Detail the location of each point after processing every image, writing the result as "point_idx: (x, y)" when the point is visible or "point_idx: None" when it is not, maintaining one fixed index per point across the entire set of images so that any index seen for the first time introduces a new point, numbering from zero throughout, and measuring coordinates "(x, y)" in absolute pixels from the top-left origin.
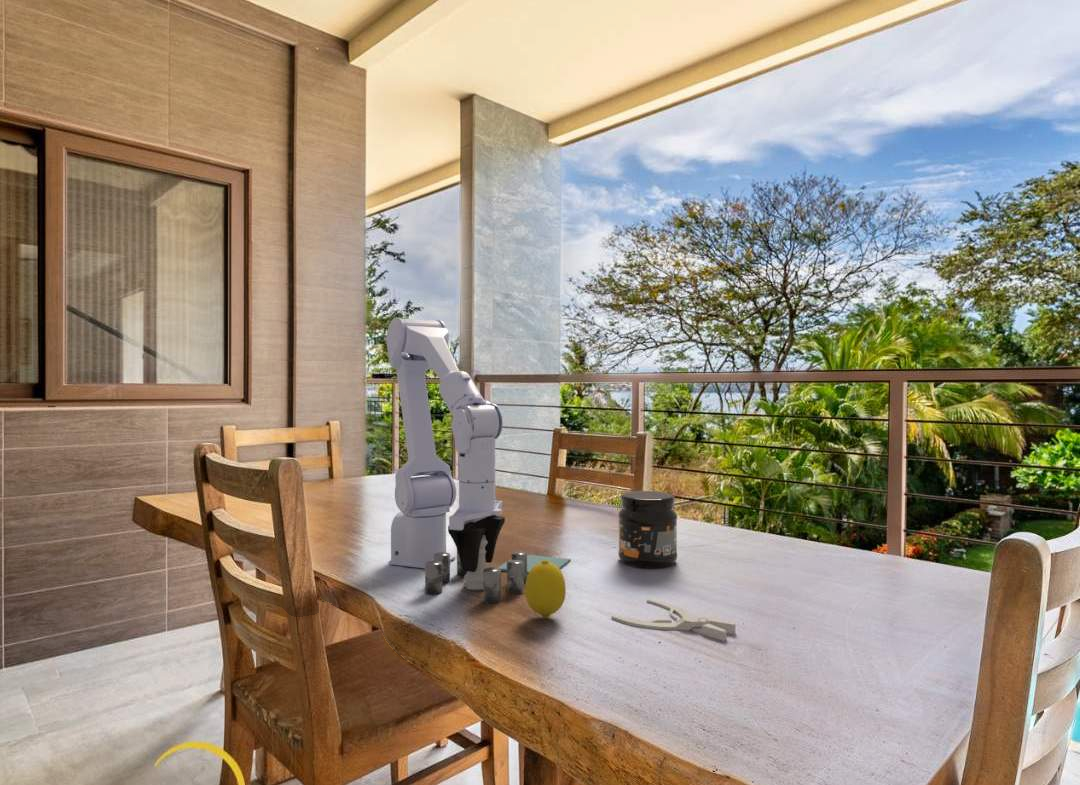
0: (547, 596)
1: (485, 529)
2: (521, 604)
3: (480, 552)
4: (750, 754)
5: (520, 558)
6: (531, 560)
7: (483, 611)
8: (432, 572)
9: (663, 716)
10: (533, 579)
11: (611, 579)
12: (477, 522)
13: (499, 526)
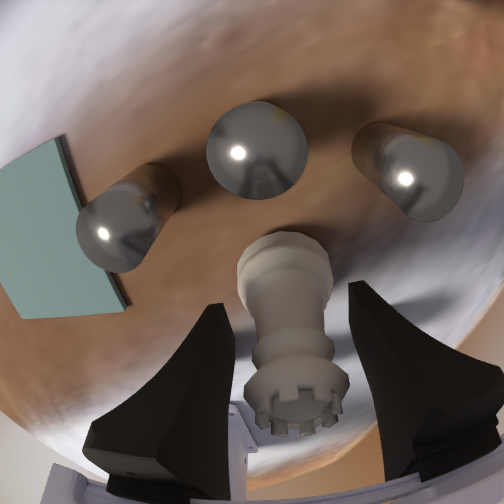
0: None
1: (435, 406)
2: (364, 44)
3: (316, 338)
4: None
5: (136, 203)
6: (22, 270)
7: (460, 128)
8: None
9: None
10: None
11: (6, 3)
12: (220, 483)
13: (152, 418)
